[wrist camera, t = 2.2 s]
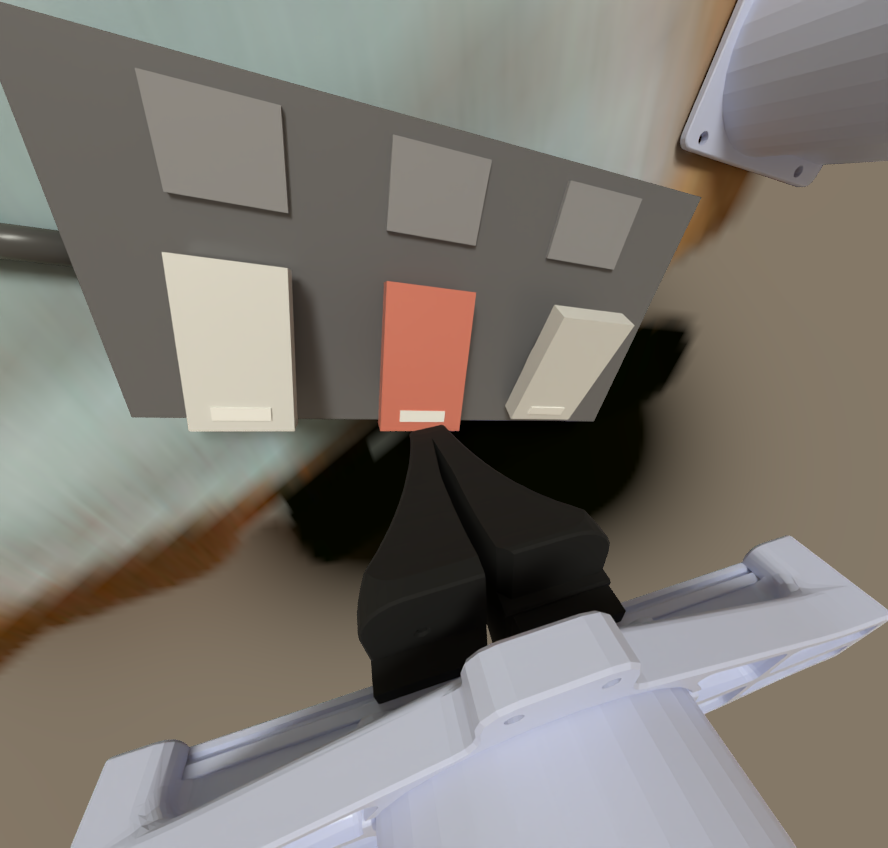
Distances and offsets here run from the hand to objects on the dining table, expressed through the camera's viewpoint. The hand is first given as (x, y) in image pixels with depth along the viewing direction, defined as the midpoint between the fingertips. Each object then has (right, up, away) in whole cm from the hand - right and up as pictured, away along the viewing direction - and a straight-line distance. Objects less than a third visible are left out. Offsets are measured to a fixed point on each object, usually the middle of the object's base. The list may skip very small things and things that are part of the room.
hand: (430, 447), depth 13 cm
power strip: (-4, +8, +3) cm, 9 cm away
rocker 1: (-7, +4, 0) cm, 8 cm away
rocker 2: (+6, +4, +4) cm, 9 cm away
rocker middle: (-1, +4, +2) cm, 5 cm away
